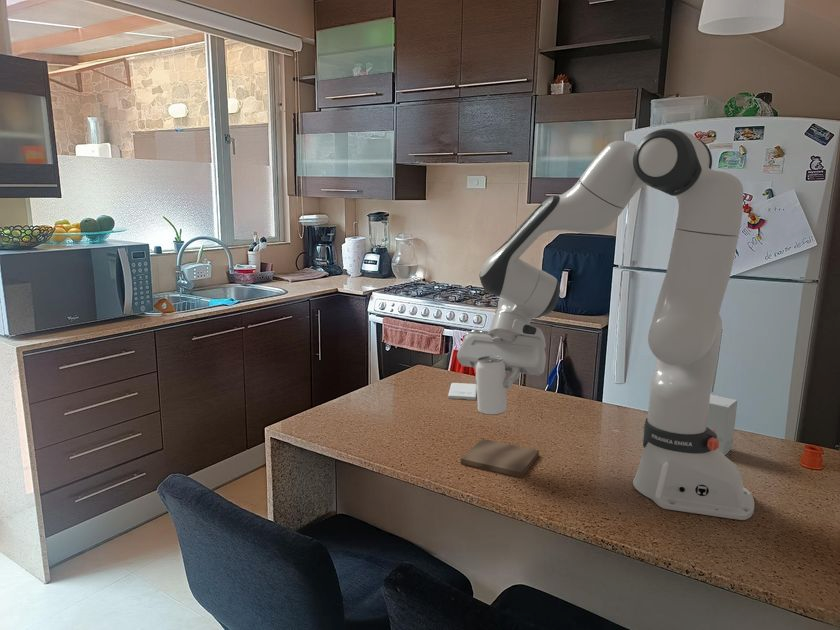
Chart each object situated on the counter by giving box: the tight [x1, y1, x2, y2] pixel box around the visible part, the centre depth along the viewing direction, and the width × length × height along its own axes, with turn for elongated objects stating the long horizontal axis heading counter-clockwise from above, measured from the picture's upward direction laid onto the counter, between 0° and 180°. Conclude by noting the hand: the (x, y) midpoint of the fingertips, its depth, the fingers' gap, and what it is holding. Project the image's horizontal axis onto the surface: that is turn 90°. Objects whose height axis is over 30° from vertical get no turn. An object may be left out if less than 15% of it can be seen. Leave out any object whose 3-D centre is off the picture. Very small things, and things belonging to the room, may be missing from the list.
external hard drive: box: [447, 382, 477, 401], centre depth 184 cm, size 2×8×12 cm
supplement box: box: [707, 394, 738, 456], centre depth 144 cm, size 7×7×13 cm
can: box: [475, 356, 507, 416], centre depth 135 cm, size 6×6×12 cm
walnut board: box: [460, 438, 540, 478], centre depth 138 cm, size 14×13×1 cm
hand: (492, 385), depth 135 cm, fingers closed on can, 5 cm apart
